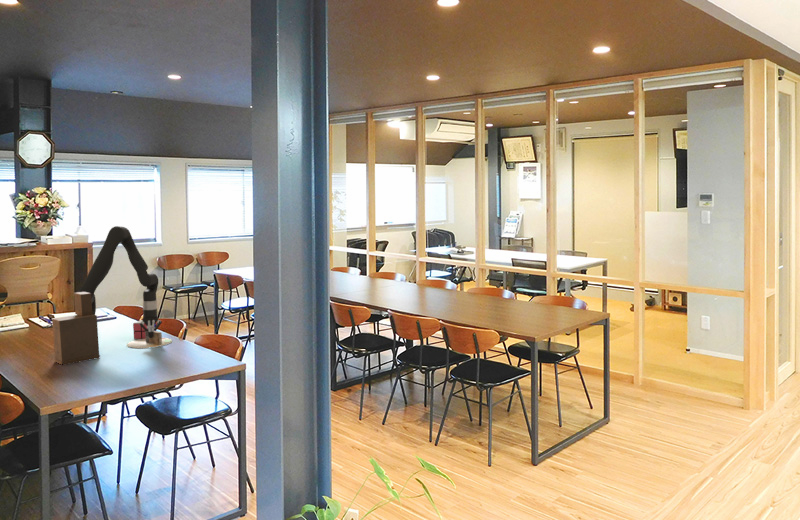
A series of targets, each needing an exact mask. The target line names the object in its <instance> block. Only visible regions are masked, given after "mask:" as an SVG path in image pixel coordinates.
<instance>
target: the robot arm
mask: <svg viewBox="0 0 800 520" xmlns="http://www.w3.org/2000/svg"><path fill="white" fill-rule="evenodd" d="M119 244H121V245H122V247H123V248H124V250H125V251H126V252H127V256H128V260H129V262H130V264H131V266H132V268H133V269H134V271H135V273H136V277H137V278H138V281H139V283H140V285H142V286H143V287H145V288H146V289H145V290H144V291H143V292H142V294H143V295H142V299H143V300H142V316H143V317H142V319H141V320H142V322H140V323H139V325H140V326H141V327H142V328H143V329H144V330H145V331H148V337H149V338H153V336H154V330H156V331H157V330H158V329H159V328H160V326H161V324H162V323H163V322H162V320H160V319H159V318H158V303H157V291H158V287H159V277H158V276H157V275H158V274H156V273H153V272H152V273H148V271H147V270H148V268H149V265H148V264H147V262H146V261H145V259H144V258H143V256H142V254H141V253H140V251H139V249H138V248H137V247H138V246H136V243H135V242H134V238H133V237H132V234H131V232H130V230H129V229H128V228H127V227H125V226H118V225H116V226H112V227H111V229H109V231H108V233H107V236H106V239H105V241H104V243H103V246H102V247H101V249H100V251H99V252H98V255H97V256H96V258H95V260H94V262H93V264H92V265H91V267H90V269H89V272H88V273H87V276H86V278H85V280H84V283H83V284H82V285H81V286H80V289H78V291H77V292H88V293H91V300H92V314H93V315H96V311H97V307H96V306H97V305H96V304H97V301H96V300H97V299H96V295H95V292H96V290H97V288H98V287H99V285H100V284H101V283H103V280H105V278H106V277H107V275H108V274H109V272H110V270H111V268H112V266H113V263H114V255H115V251H116V250H117V247H118V246H119ZM144 323H145V324H146V325H147V329H146V328H145V326H144ZM155 324H156V326H155V327H154V325H155Z"/></svg>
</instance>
